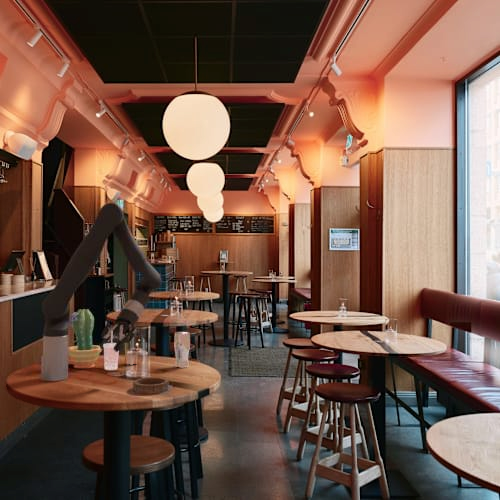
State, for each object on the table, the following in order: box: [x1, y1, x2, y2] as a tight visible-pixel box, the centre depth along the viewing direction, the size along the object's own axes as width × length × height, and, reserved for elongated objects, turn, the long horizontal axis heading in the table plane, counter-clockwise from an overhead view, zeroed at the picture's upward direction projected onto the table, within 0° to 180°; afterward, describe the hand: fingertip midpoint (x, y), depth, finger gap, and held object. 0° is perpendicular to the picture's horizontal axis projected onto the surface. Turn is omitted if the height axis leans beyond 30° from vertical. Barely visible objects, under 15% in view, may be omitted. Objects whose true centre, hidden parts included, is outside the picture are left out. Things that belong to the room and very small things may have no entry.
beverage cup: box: [103, 331, 120, 371], centre depth 194 cm, size 6×6×14 cm
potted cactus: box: [68, 308, 103, 369], centre depth 232 cm, size 15×15×25 cm
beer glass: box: [173, 331, 191, 369], centre depth 232 cm, size 7×7×15 cm
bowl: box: [132, 376, 170, 395], centre depth 190 cm, size 12×12×3 cm
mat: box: [128, 384, 173, 395], centre depth 190 cm, size 14×12×1 cm
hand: (108, 349), depth 192 cm, fingers closed on beverage cup, 6 cm apart
